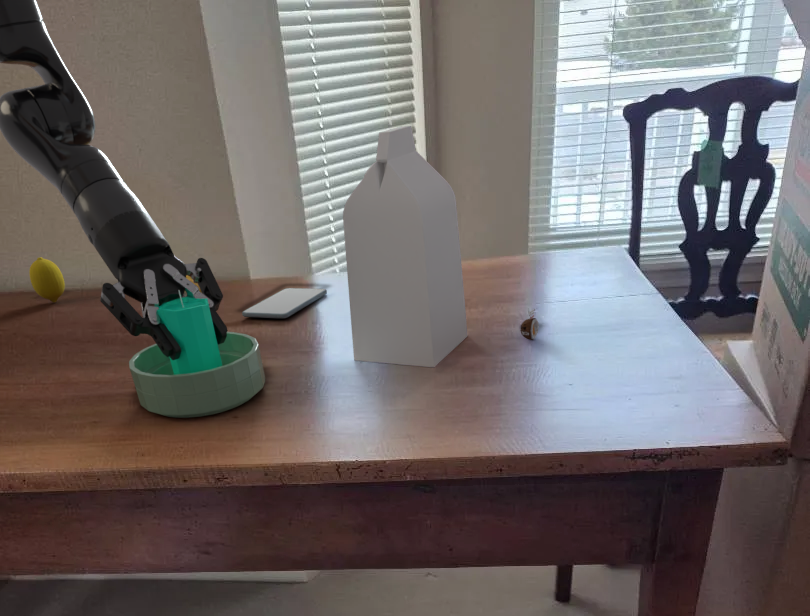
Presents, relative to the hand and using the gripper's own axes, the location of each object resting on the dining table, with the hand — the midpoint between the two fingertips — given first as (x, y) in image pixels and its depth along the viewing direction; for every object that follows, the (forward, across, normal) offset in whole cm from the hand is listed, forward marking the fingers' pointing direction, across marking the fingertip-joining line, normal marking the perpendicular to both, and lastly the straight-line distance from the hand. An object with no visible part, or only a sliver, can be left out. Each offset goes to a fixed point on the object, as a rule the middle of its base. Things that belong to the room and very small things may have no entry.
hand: (200, 347), depth 86 cm
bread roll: (-26, +23, +35) cm, 50 cm away
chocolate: (+19, +37, -10) cm, 43 cm away
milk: (+11, +26, -2) cm, 28 cm away
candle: (+3, 0, +5) cm, 6 cm away
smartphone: (-12, +30, +21) cm, 38 cm away
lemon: (-42, +9, +52) cm, 67 cm away
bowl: (+3, 0, +6) cm, 7 cm away
